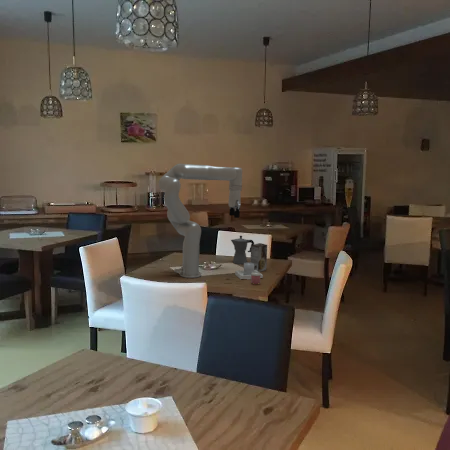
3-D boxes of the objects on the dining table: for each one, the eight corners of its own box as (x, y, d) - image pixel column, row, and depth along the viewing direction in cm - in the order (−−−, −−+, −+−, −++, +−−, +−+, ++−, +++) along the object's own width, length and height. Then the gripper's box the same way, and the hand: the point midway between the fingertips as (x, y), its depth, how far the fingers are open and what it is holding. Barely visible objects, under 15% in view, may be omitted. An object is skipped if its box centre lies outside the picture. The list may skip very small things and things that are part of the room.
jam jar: (252, 285, 282) (253, 274, 281) (249, 282, 287) (250, 272, 286) (261, 284, 283) (262, 274, 282) (258, 282, 288) (258, 271, 287)
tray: (241, 279, 292) (241, 275, 291) (234, 274, 303) (235, 270, 303) (262, 278, 295) (262, 274, 295) (255, 273, 307) (255, 269, 306)
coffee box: (258, 268, 321) (259, 242, 319) (266, 270, 317) (267, 244, 315) (249, 270, 314) (250, 244, 312) (258, 272, 310) (259, 246, 308)
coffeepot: (228, 263, 331) (229, 236, 328) (230, 260, 340) (231, 233, 337) (252, 265, 329) (253, 237, 326) (253, 262, 338) (255, 235, 335)
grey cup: (245, 276, 295) (245, 264, 294) (242, 274, 301) (242, 262, 300) (255, 276, 297) (255, 264, 296) (251, 273, 303) (252, 262, 302)
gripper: (225, 186, 313) (224, 214, 315) (233, 189, 296) (232, 218, 299) (237, 187, 315) (236, 214, 317) (245, 189, 298) (244, 218, 301)
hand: (234, 216), depth 308 cm, fingers open, 9 cm apart
